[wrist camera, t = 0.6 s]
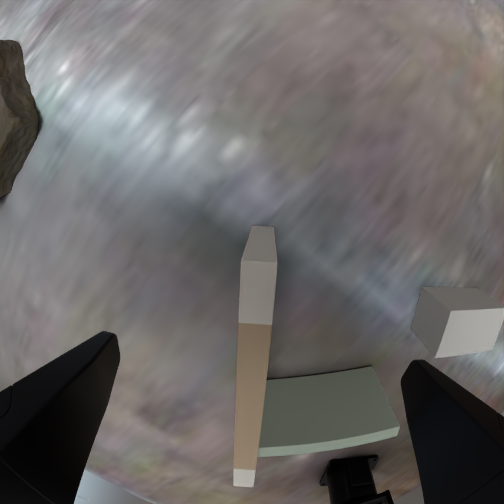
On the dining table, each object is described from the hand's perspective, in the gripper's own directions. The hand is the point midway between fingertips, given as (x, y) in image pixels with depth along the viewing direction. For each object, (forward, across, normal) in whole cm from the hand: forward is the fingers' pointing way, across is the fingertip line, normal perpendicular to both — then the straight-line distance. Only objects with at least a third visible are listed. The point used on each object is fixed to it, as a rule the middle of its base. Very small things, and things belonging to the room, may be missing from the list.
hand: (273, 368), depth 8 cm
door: (+11, -7, +13) cm, 19 cm away
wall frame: (+13, -1, +9) cm, 16 cm away
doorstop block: (+12, -18, +5) cm, 22 cm away
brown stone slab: (+18, +29, -7) cm, 35 cm away
